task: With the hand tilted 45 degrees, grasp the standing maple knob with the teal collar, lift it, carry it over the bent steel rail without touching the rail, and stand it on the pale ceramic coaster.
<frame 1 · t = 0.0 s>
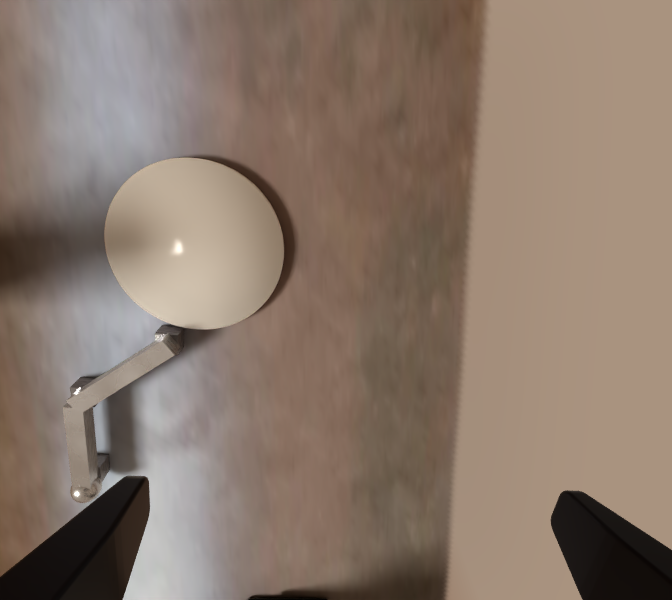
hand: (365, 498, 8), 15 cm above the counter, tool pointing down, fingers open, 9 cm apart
rail: (92, 386, 23), on the counter
coaster: (199, 247, 21), on the counter
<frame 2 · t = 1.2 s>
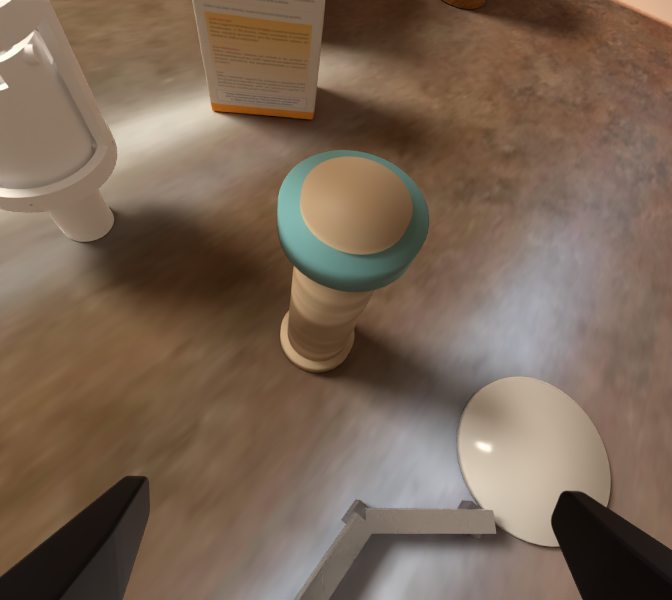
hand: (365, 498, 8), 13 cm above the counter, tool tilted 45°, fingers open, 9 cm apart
supplement box: (263, 99, 32), on the counter
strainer: (89, 223, 25), on the counter
rail: (357, 517, 20), on the counter
knob: (316, 337, 24), on the counter
coaster: (530, 454, 23), on the counter
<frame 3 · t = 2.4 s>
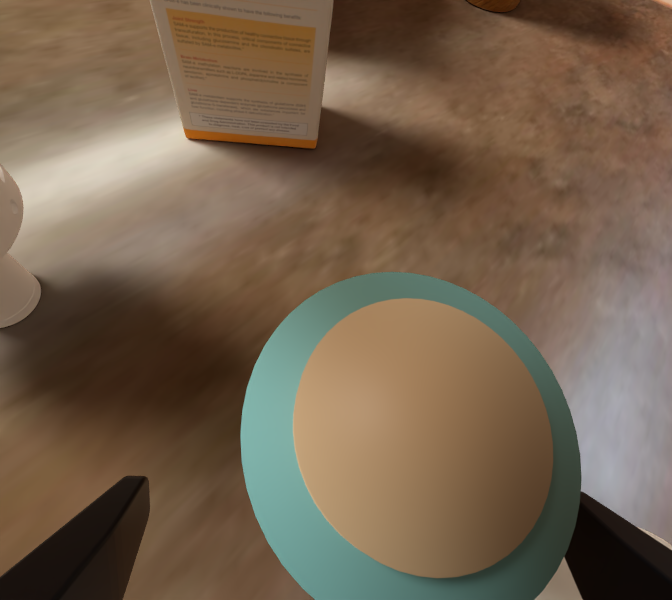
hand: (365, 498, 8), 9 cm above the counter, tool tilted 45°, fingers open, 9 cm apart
supplement box: (253, 122, 26), on the counter
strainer: (5, 299, 18), on the counter
knob: (320, 468, 17), on the counter
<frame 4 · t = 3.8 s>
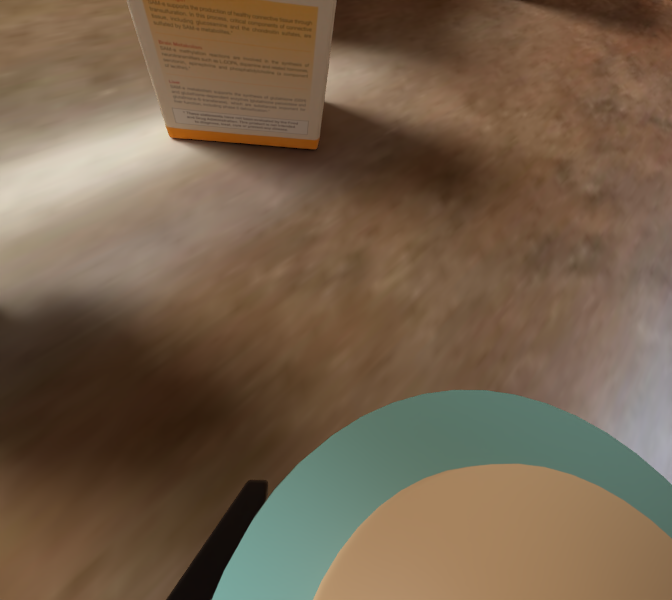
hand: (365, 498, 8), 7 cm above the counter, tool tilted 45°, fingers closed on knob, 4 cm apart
supplement box: (246, 119, 23), on the counter
knob: (323, 536, 14), on the counter, touching gripper
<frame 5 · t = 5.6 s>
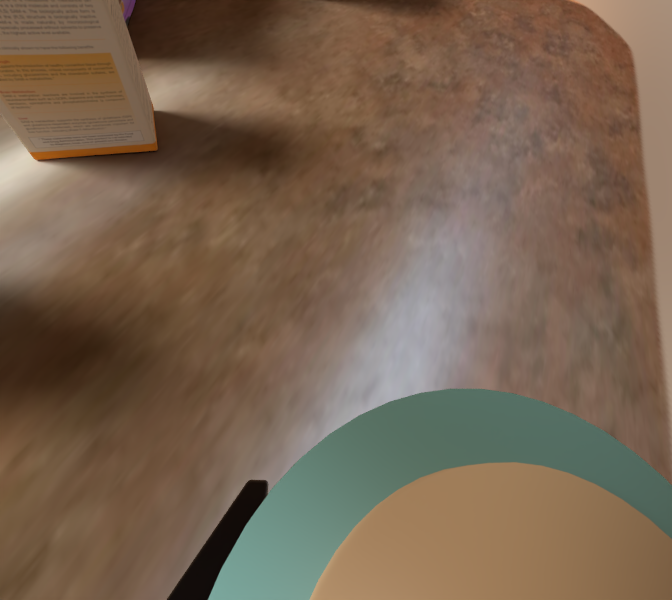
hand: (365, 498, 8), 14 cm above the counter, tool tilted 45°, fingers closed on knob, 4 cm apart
supplement box: (98, 135, 29), on the counter
knob: (323, 535, 14), point 7 cm above the counter, touching gripper
when the fingers open (9 cm above the counter, at t = 7.5 s): knob stays where it is, resting on coaster.
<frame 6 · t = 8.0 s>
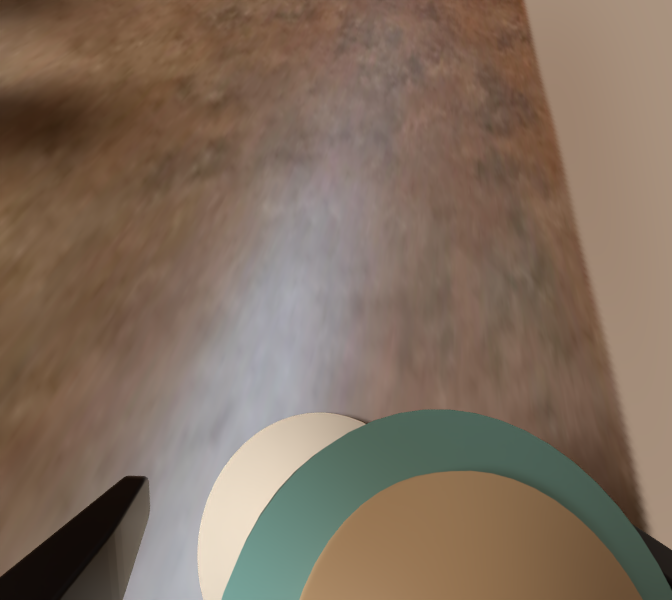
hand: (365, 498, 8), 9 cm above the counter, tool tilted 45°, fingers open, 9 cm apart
knob: (320, 534, 15), point 1 cm above the counter, touching coaster
coaster: (318, 531, 15), on the counter
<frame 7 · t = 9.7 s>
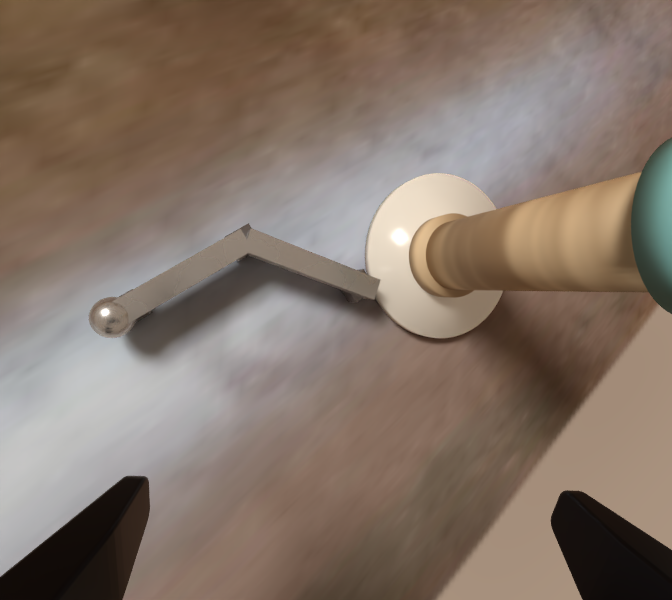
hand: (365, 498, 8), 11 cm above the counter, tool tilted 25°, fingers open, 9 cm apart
rail: (241, 244, 18), on the counter
knob: (444, 256, 21), point 1 cm above the counter, touching coaster
coaster: (438, 257, 22), on the counter
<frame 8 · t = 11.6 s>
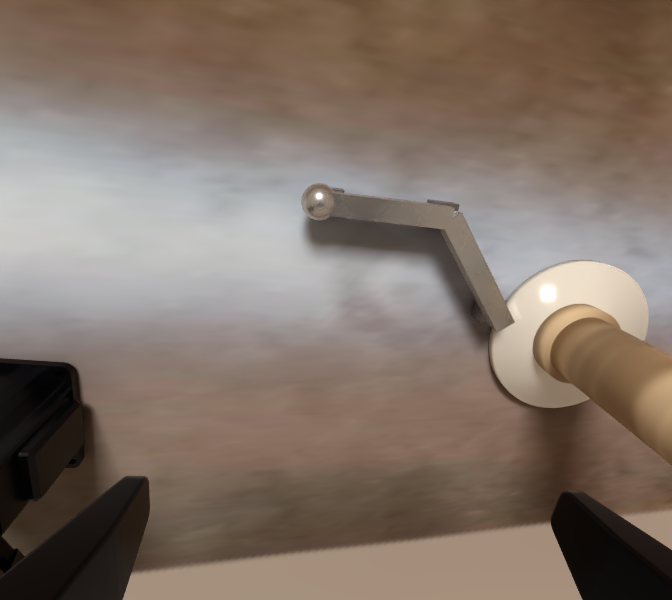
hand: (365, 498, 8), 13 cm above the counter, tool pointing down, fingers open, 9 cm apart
rail: (437, 213, 20), on the counter
knob: (570, 340, 22), point 1 cm above the counter, touching coaster
coaster: (564, 335, 23), on the counter
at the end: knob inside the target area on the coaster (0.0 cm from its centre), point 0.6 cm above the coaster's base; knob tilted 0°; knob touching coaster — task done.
